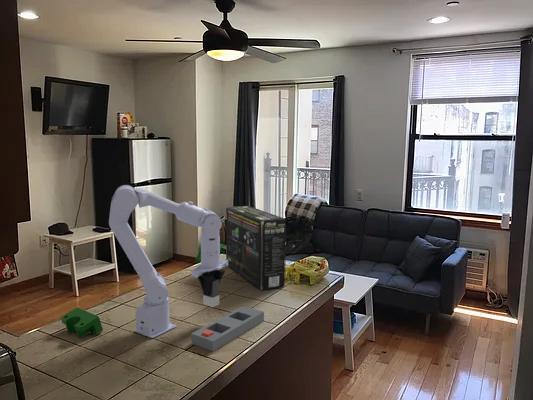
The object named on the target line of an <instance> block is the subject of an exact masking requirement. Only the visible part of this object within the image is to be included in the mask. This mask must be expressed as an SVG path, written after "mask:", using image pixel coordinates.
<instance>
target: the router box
mask: <svg viewBox="0 0 533 400" xmlns="http://www.w3.org/2000/svg"><path fill="white" fill-rule="evenodd" d="M225 211H226V213H225V214H226V224H225V225H226V232H225V234H226V241H225V243H226V244H225V245H226V247H225V251H226V255H225V257H226V258H225V259H226V260H228V266H226V267H227V268H229V269H230V270H231V271H233V272H234V273H236V274H237V275H238V276H240V277H242V278H243V280H245V281H248V282H249V283H250V284H251V285H253V286H254V287H256V288H257V289H258V290H260V291H262V290H263V291H264V290H272V289H276V288H279V287H280V288H281V287H284V286H285V281H286V280H285V279H286V277H285V274H286V258H287V257H286V254H287V250H286V249H287V245H286V244H287V222H286V218H284V217H281V216H279V215H276V214H273V213H269V212H267V211H264V210H261V209H259V208H255V207H253V206H249V205H244V206H243V205H242V206H240V205H239V206H226V207H225Z"/></svg>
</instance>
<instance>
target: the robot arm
mask: <svg viewBox="0 0 533 400" xmlns="http://www.w3.org/2000/svg"><path fill="white" fill-rule="evenodd" d="M137 205H138V208H145V207H149V206H151V207H153V208H157V209H159V210H162V211H165V212H167V213H172V214H173V215H175V217H176V219H177V220H178V221H181V222H183V223H186V224H188V225H191V226H194V227H197V228H199V227H201V229H200V231H201V232H200V233H201V234H200V264H199V265H198V266H197V267H195V268H194V269H191V277H192V278H196V279H197V280H198V281H199V283H200V286H201V289H202V294H203V293H204V295H205V296H210V294H211V284H212V280H213V278H216V279H219V287H220V286H221V282H222V279H223V276H224V275H225V273H226V269H223V268H224V267H227V266H228V260H226V258H225V259H224V258H223V259H221V243H220V242H221V240H220V239H221V237H220V230H221V228H222V225H223V223H222V220H221V217H220V216H219V215H217V213H215V211H212V210H211V209H208V208H207V207H204V208H203V207H200V206H197V205H194V202H193V201H190V200H189V201H188V202H187V201H183V202H180V203H177V202H175V201H173V200H170V199H168V198H166V197H163V196H161V195H158V194H156V193H155V192H152V191H149V190H145V189H143V188H140V187H135V188H134V187H133V186H131V185H129V184H123V185H120V186H118V187H117V188H116V190H115V191H114V193H113V196H112V197H111V202H110V210H109V218H108V225H109V228H110V230H111V231H112V232H113V234H114V237H115V238H116V240H117V241H118V243H119V245H120V246H121V248H122V250H123V252H124V253H125V254H126V257H127V258H128V260H129V262H130V263H131V265H132V267H133V268H134V270H135V272H136V273H137V276H138V277H139V279H140V281H141V282H140V283H141V284H142V286H143V288H144V289H145V297H144V298H143V302H142V304H141V305H139V306H138V307H137V308H136V310H135V327H136V328H135V329H134V332H136V333H138V334H140V335H142V336H146V337H148V338H151V339H153V338H155V337H158V336H160V335H162V334H164V333H167V332H168V331H171V330H172V329H174V328H176V327H177V325H176V324H173V323H171V321H170V297H169V290H168V287H167V283H166V279H165V278H164V276H163V275H161V274H159V273H158V272H157V270H156V268H155V267H154V266H153V264H152V262H151V261H150V259H149V257H148V255H147V253H145V251H144V248H143V247H142V245H141V243H140V242H139V240H138V239H137V237H136V235H135V232H133V230H132V227H131V226H130V224H129V218H130V216H131V213H132V212H133V211H134V209H136V207H137Z"/></svg>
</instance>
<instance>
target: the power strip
mask: <svg viewBox="0 0 533 400" xmlns="http://www.w3.org/2000/svg"><path fill="white" fill-rule="evenodd" d="M264 321H265V312H264V311H262V310H259V309H256V308H252V307H249V306H245V305H243V306H241V307H239V308H237V309H235V310H233V311H231V312H229V313H228V314H226V315H223V316H222V317H220V318H218V319H216V320H215V321H214V320H213V321H212V322H210V323H208V324H206V325H205V326H203V327H200V328H199V329H197V330H195V331H193V332H191V335H190V338H191V339H190V340H191V344H192V345H195V346H197V347H200V348H202V349H205V350H207V351H209V352H210V351H211V352H215V351H216V350H218V349H220V348H221V347H224V346H226V345H227V344H228V343H230V342H232V341H234V340H235V339H237V338H238V337H240V336H241V335H243V334H245V333H247V331H248V332H249V331H250V330H252V329H253V328H254V327H256V326H258V325H260V324H261V323H263V322H264Z"/></svg>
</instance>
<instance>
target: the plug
mask: <svg viewBox="0 0 533 400" xmlns="http://www.w3.org/2000/svg"><path fill="white" fill-rule="evenodd" d="M202 303H203V304H202V305H205V306H208V307H211V308H215V307H217V306H219V305H220V286H219V279H216V278H213V280H212V284H211V294H210V296H205V295H204V293H203V292H202Z"/></svg>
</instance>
